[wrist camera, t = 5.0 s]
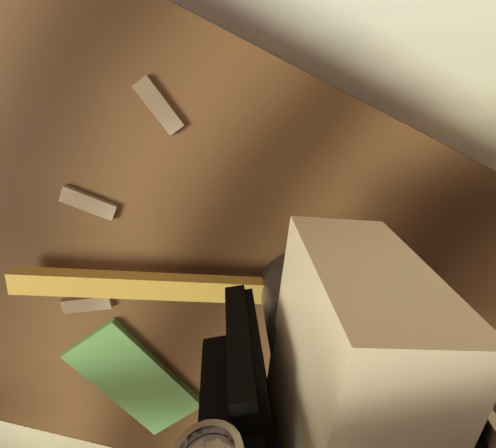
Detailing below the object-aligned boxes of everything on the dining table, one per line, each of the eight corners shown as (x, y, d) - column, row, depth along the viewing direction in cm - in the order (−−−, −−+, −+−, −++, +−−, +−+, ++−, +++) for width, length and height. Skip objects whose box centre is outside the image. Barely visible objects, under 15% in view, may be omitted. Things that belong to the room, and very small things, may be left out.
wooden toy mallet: (349, 186, 11) (525, 352, 5) (313, 365, 14) (394, 630, 8) (1, 162, 10) (-376, 328, 4) (32, 359, 13) (-158, 657, 7)
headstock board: (544, 203, 15) (611, 231, 13) (345, 457, 20) (363, 514, 18) (-36, -99, 10) (-120, -153, 8) (-105, 335, 16) (-169, 388, 13)
